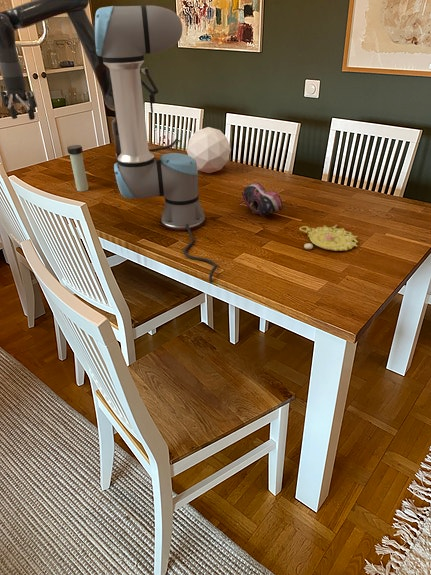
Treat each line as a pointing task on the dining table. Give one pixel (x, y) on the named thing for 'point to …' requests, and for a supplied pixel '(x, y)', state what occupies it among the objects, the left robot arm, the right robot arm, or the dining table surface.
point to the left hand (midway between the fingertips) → (23, 118)
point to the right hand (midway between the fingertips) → (135, 113)
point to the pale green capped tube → (79, 172)
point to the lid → (74, 149)
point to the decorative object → (330, 238)
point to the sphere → (209, 149)
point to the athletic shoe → (261, 200)
